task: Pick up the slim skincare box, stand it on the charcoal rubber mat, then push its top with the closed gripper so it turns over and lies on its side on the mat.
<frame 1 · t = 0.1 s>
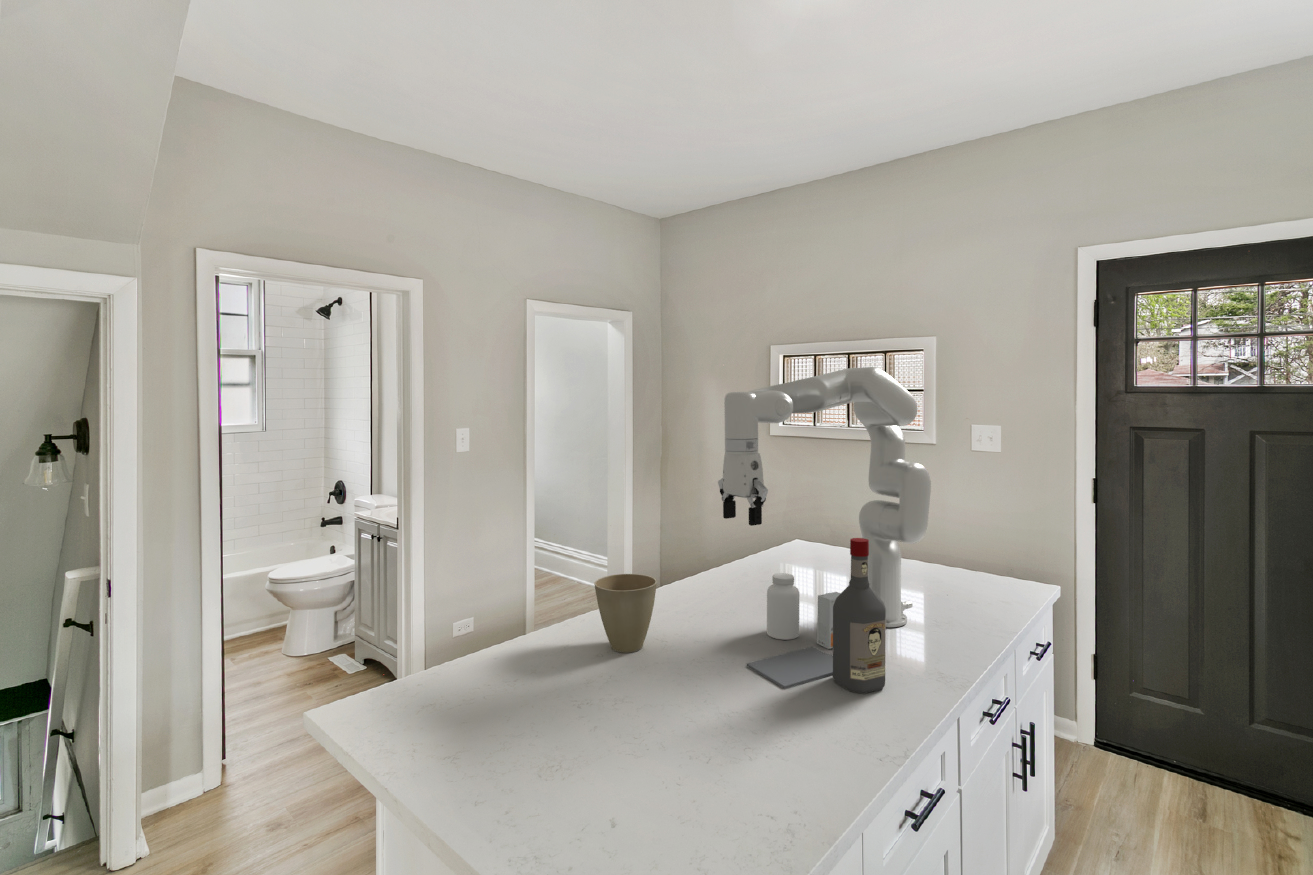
hand: (742, 521, 146), 31 cm above the counter, fingers open, 9 cm apart
skincare box: (832, 645, 153), on the counter
pill bottle: (783, 635, 160), on the counter
mat: (799, 667, 140), on the counter
liquor: (858, 683, 132), on the counter
plant pot: (626, 647, 154), on the counter
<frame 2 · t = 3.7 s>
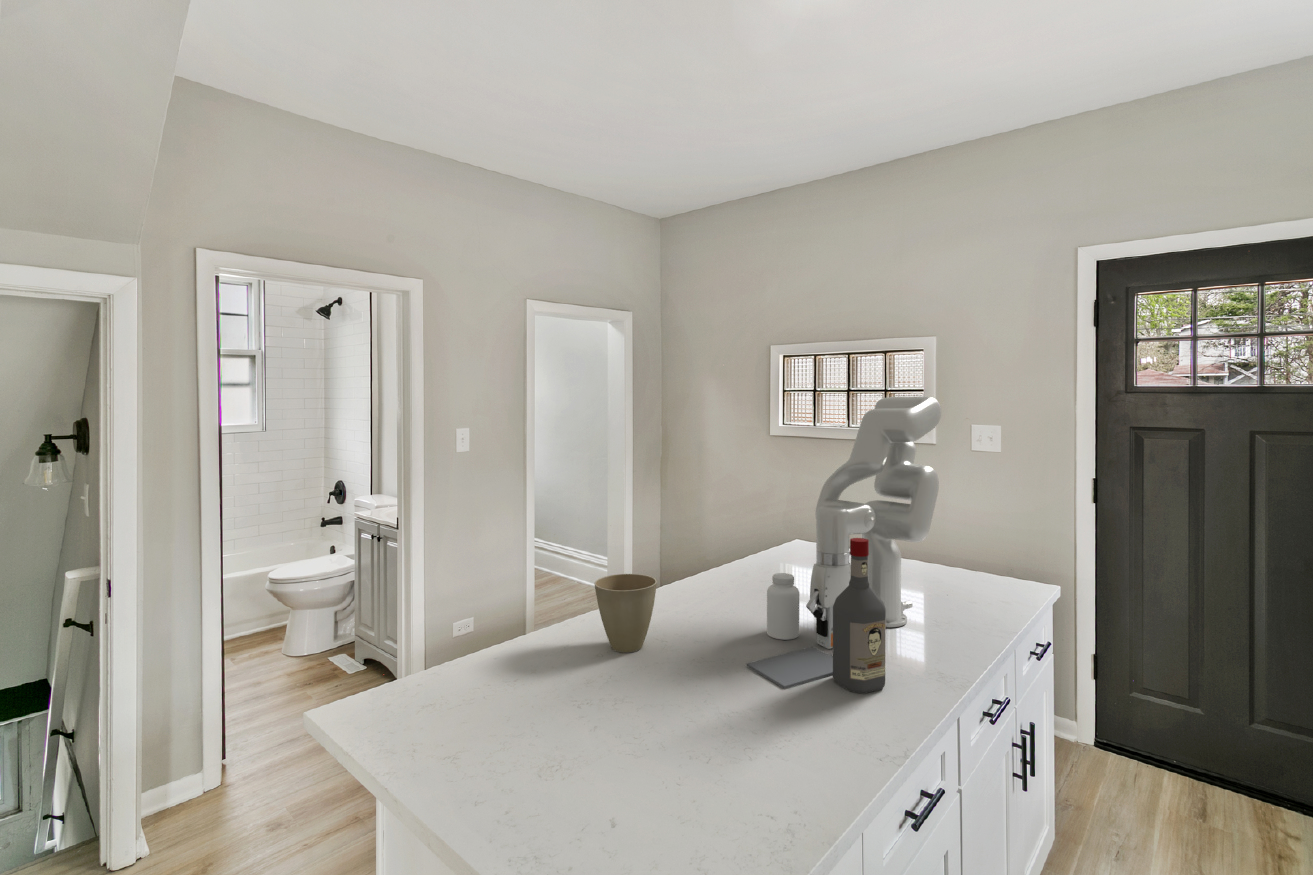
hand: (832, 631, 153), 3 cm above the counter, fingers closed on skincare box, 6 cm apart
skincare box: (832, 645, 153), on the counter, touching gripper
everything else where it was.
when the fingers open (5 cm above the counter, at t = 9.0 s): skincare box stays where it is, resting on mat.
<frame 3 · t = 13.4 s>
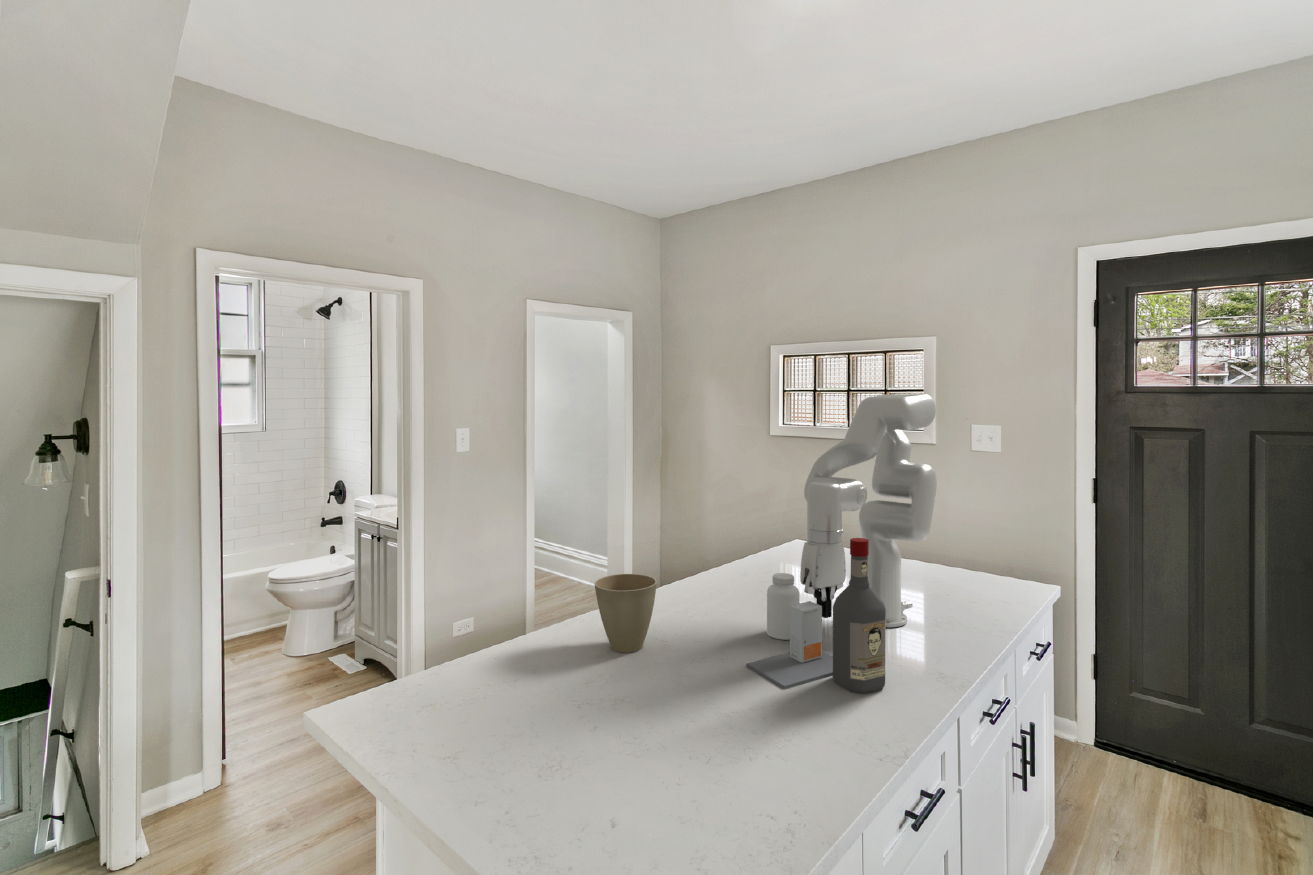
hand: (823, 615, 146), 9 cm above the counter, fingers closed
skincare box: (806, 658, 144), resting on mat, touching gripper
everything else where it was.
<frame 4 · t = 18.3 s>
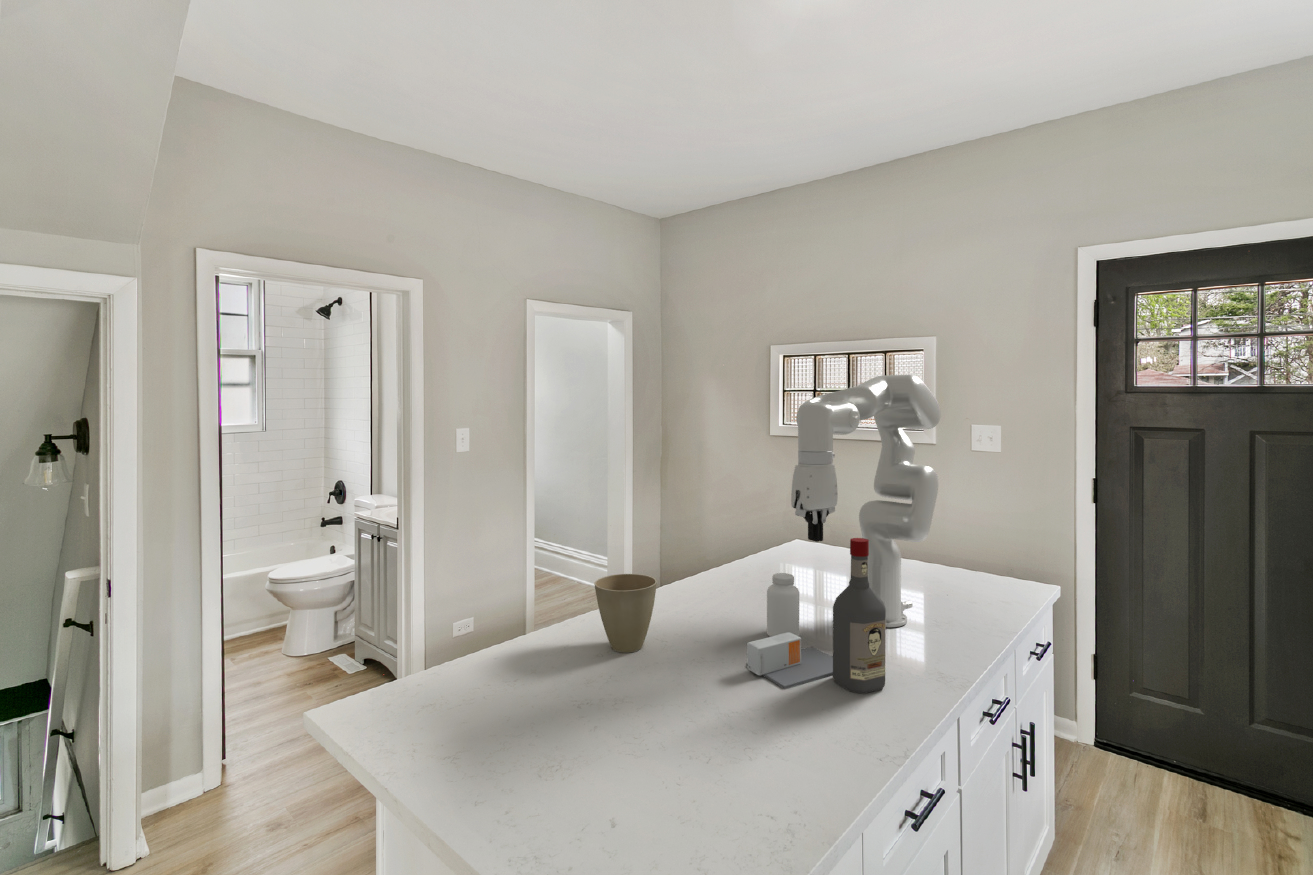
hand: (815, 540, 143), 27 cm above the counter, fingers closed
skincare box: (796, 647, 142), point 4 cm above the counter, touching mat
everything else where it was.
at the end: skincare box tilted 91°; skincare box inside the target area (4.5 cm from its centre), point 3.7 cm above the counter; the gripper is holding nothing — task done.
